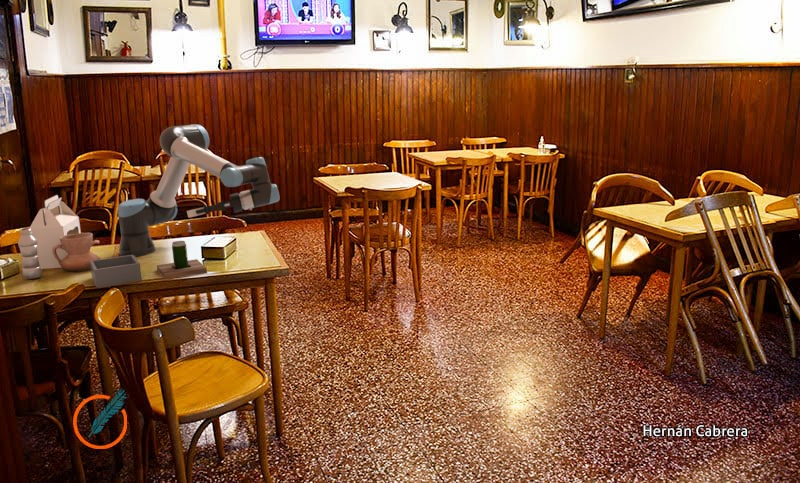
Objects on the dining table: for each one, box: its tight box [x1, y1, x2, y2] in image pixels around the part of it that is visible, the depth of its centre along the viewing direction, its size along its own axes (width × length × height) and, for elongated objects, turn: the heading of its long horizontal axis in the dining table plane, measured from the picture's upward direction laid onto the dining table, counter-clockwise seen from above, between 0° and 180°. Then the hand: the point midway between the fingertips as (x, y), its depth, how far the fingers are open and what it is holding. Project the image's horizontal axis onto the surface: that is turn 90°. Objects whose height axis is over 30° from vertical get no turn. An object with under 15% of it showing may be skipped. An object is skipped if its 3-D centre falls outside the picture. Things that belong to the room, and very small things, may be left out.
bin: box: [90, 255, 143, 289], centre depth 256 cm, size 16×16×7 cm
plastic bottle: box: [17, 227, 43, 280], centre depth 258 cm, size 6×7×20 cm
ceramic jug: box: [52, 232, 102, 272], centre depth 272 cm, size 18×14×14 cm
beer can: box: [171, 240, 189, 270], centre depth 264 cm, size 5×5×12 cm
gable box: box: [29, 194, 82, 270], centre depth 282 cm, size 22×13×28 cm, turn 10°
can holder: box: [156, 258, 208, 280], centre depth 265 cm, size 16×16×2 cm
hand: (188, 214), depth 264 cm, fingers open, 13 cm apart
